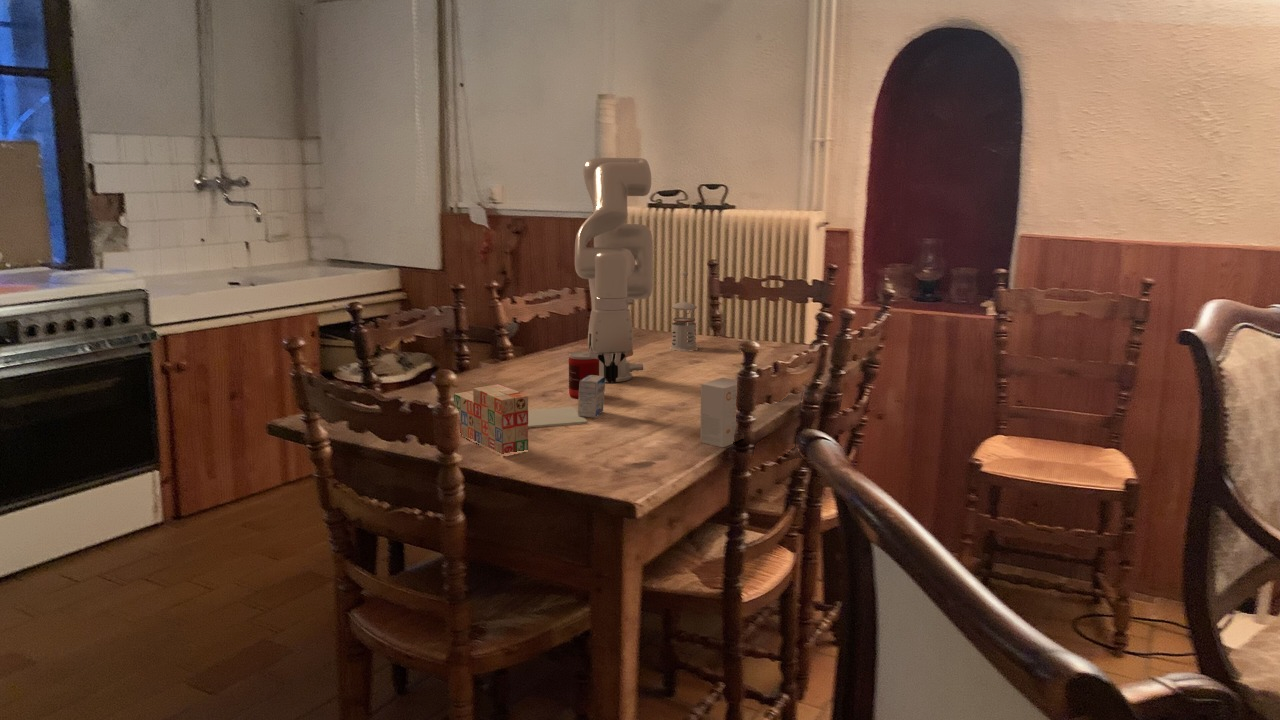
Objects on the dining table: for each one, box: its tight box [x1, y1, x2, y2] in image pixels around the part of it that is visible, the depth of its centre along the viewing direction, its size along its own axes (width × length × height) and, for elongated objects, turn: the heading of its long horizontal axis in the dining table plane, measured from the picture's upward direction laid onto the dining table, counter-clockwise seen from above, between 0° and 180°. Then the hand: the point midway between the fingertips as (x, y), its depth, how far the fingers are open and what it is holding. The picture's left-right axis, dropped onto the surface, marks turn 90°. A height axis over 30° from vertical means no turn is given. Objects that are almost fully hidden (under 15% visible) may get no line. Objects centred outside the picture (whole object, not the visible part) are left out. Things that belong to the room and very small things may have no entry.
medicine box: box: [577, 375, 606, 419], centre depth 223 cm, size 8×4×9 cm, turn 168°
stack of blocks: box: [453, 383, 529, 454], centre depth 200 cm, size 21×6×12 cm, turn 37°
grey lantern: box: [669, 271, 699, 352], centre depth 305 cm, size 10×12×25 cm
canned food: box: [568, 350, 599, 400], centre depth 242 cm, size 8×8×11 cm
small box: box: [699, 377, 738, 448], centre depth 202 cm, size 8×6×13 cm
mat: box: [528, 406, 589, 428], centre depth 220 cm, size 18×14×1 cm
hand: (610, 381), depth 224 cm, fingers closed
